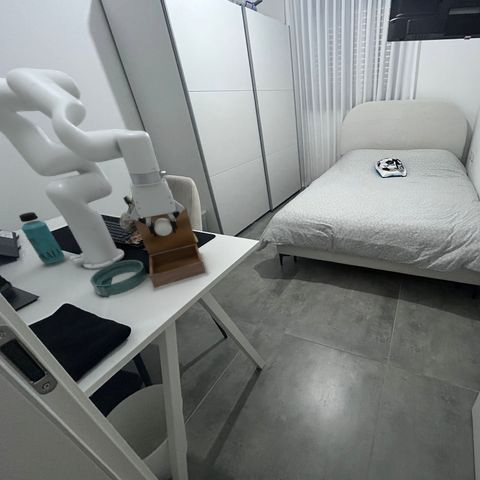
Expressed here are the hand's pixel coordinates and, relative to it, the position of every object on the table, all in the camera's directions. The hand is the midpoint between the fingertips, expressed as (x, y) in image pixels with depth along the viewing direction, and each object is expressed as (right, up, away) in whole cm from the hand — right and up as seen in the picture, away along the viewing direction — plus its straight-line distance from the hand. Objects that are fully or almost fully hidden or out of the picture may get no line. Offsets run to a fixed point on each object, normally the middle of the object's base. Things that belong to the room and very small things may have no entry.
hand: (165, 232), depth 83 cm
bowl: (-16, -17, +3) cm, 23 cm away
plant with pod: (-30, -3, +30) cm, 43 cm away
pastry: (-6, -4, +26) cm, 27 cm away
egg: (0, 0, 0) cm, 0 cm away
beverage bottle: (-51, -11, +15) cm, 54 cm away
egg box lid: (-3, 0, +7) cm, 7 cm away
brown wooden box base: (0, -13, +9) cm, 16 cm away
